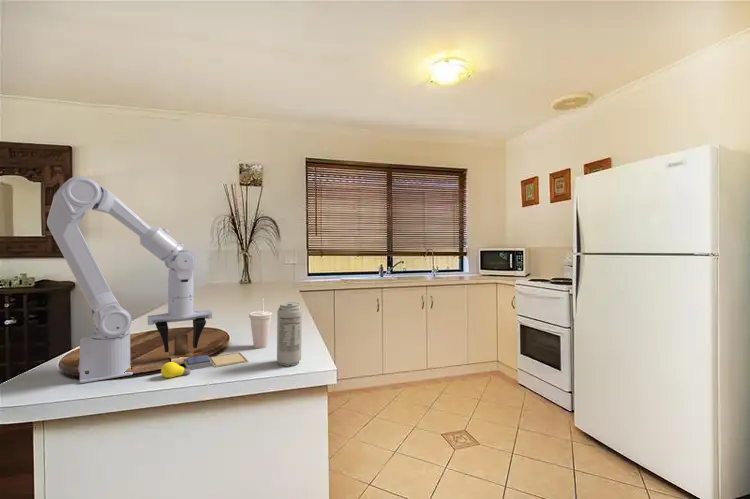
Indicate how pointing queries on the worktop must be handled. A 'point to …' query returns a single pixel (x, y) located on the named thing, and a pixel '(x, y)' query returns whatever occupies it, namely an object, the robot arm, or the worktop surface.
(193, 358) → the ink pad
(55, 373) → the worktop surface
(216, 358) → the card sheet
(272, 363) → the worktop surface
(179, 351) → the stamp
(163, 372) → the light bulb
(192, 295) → the robot arm
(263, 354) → the worktop surface
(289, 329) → the energy drink can
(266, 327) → the smoothie
